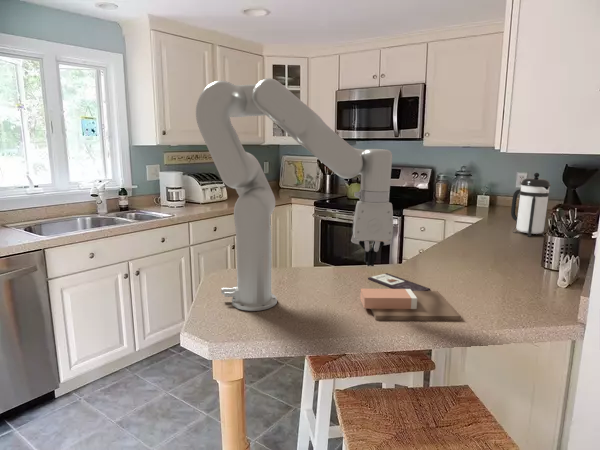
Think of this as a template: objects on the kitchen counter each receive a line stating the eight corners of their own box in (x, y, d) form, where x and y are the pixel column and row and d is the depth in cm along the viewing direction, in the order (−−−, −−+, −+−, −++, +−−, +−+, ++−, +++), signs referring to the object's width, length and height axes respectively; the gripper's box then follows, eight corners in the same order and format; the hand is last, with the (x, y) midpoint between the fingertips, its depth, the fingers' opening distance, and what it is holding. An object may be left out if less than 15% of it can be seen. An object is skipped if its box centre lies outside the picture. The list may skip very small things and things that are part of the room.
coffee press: (547, 232, 214) (555, 172, 207) (545, 239, 200) (554, 174, 194) (509, 228, 223) (516, 170, 216) (505, 234, 209) (512, 172, 203)
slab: (364, 297, 114) (417, 298, 114) (360, 288, 120) (410, 289, 121) (364, 308, 114) (416, 308, 114) (360, 298, 121) (409, 299, 121)
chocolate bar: (410, 294, 127) (367, 277, 141) (410, 297, 127) (367, 280, 141) (430, 288, 132) (387, 273, 146) (430, 291, 132) (386, 275, 146)
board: (375, 319, 110) (375, 315, 110) (364, 294, 128) (364, 290, 127) (460, 320, 110) (461, 316, 110) (437, 294, 128) (437, 291, 128)
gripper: (347, 198, 108) (343, 268, 111) (406, 200, 108) (400, 269, 112) (344, 194, 115) (340, 259, 119) (399, 195, 115) (394, 261, 119)
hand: (369, 264), depth 115 cm, fingers closed
